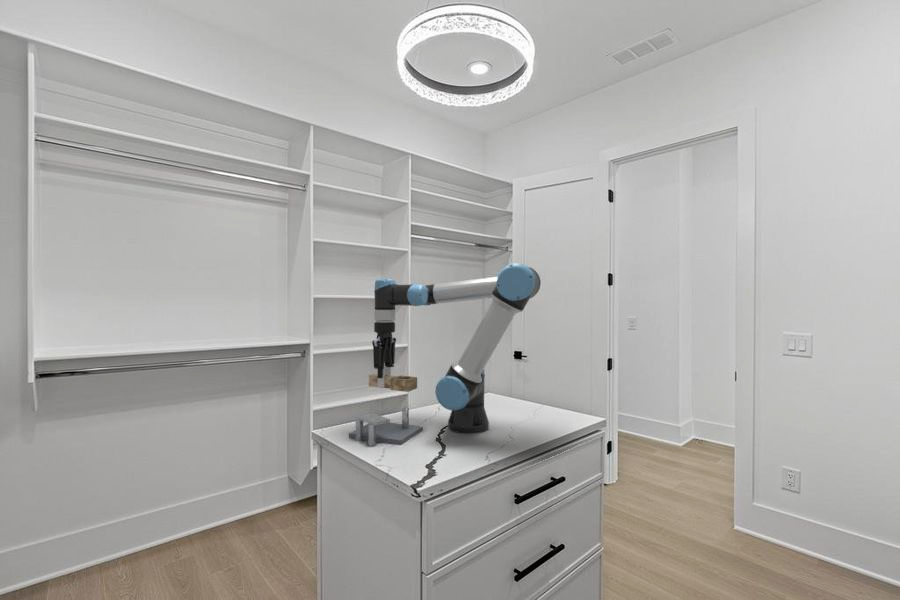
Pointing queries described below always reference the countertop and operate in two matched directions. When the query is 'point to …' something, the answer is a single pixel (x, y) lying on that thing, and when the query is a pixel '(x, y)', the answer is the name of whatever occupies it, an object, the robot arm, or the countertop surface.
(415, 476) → the countertop surface
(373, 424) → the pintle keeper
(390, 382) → the link
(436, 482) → the countertop surface
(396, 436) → the base plate
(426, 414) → the countertop surface
